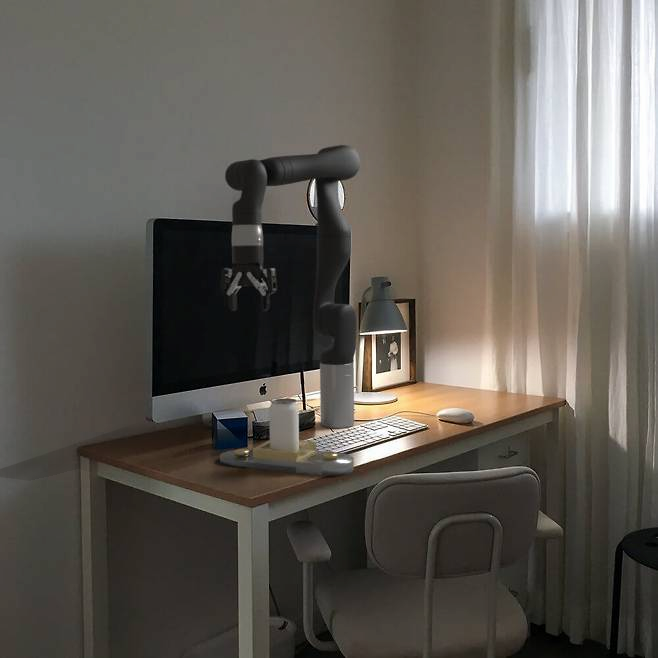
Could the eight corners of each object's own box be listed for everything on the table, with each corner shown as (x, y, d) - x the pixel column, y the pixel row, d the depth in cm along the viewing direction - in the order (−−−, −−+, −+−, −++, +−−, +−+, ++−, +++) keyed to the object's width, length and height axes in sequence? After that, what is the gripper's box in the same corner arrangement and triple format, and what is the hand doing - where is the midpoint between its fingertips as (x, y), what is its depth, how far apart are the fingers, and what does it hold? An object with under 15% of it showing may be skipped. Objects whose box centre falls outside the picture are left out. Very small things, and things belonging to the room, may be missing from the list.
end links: (211, 463, 174) (210, 444, 173) (234, 452, 184) (234, 434, 183) (343, 478, 162) (342, 457, 161) (360, 465, 171) (360, 445, 171)
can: (298, 449, 176) (297, 397, 175) (299, 456, 170) (298, 403, 169) (270, 450, 176) (269, 398, 174) (270, 457, 169) (269, 404, 168)
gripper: (280, 243, 187) (282, 310, 189) (229, 244, 193) (231, 309, 195) (266, 243, 181) (268, 312, 182) (214, 244, 186) (215, 311, 188)
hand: (249, 311), depth 188 cm, fingers open, 8 cm apart
